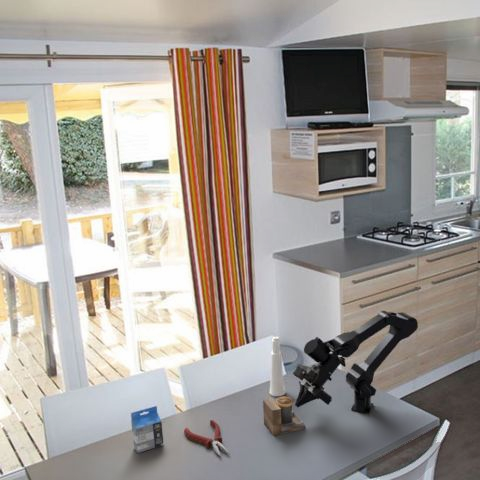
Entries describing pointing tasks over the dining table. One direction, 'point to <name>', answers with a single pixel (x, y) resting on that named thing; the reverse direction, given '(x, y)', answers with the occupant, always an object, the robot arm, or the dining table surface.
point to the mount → (278, 419)
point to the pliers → (206, 441)
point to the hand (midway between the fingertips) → (296, 406)
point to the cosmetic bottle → (276, 370)
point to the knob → (285, 410)
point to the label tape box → (146, 429)
